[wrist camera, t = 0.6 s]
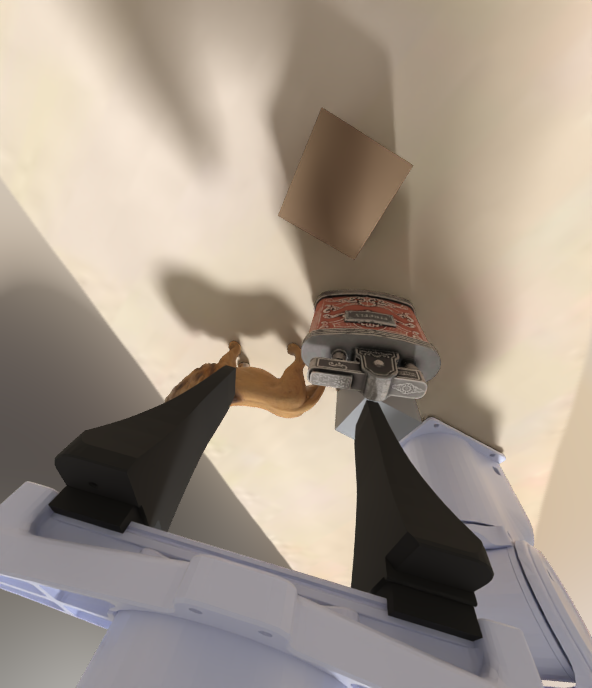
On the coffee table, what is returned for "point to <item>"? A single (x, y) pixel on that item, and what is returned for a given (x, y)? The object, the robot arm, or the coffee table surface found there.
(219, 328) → the coffee table surface
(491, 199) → the coffee table surface
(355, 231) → the walnut block
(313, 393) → the lion figurine
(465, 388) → the coffee table surface
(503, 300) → the coffee table surface
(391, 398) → the gray block
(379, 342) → the lighter
